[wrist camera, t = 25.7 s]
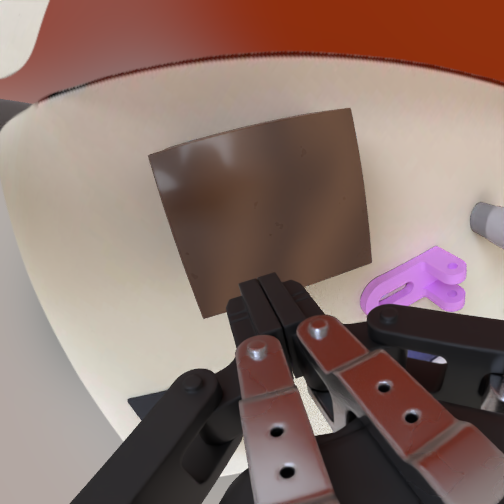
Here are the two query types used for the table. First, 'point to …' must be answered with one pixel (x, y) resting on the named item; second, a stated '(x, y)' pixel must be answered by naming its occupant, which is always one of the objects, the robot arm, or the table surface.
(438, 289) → the bracket
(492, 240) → the cup
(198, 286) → the lid
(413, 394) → the robot arm
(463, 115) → the table surface
